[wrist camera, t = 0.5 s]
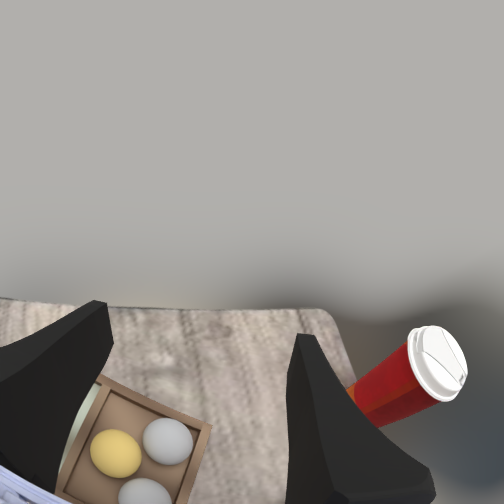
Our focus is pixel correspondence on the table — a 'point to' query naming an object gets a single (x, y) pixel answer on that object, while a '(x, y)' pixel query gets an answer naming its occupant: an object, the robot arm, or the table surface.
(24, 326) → the table surface
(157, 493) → the grey ball
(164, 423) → the grey ball
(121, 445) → the ochre ball
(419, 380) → the paper cup
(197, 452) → the sorting board
